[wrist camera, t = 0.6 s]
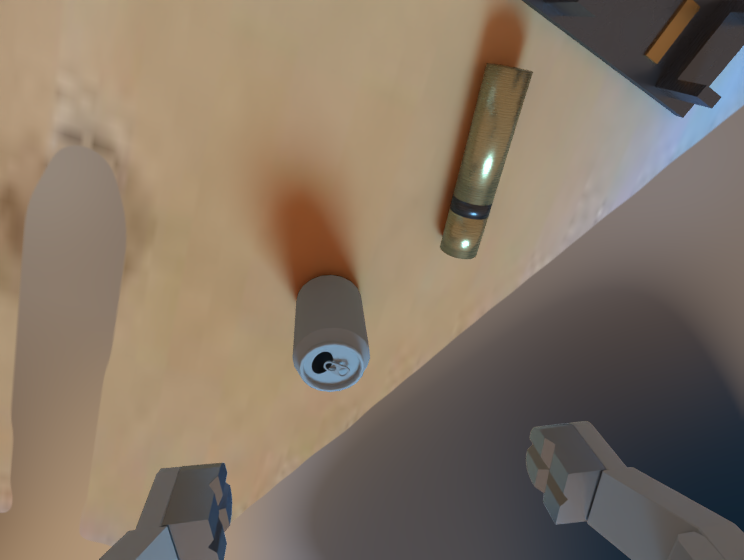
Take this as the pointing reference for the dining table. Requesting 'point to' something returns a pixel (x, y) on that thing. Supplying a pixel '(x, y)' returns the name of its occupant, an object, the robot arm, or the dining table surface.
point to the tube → (484, 157)
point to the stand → (656, 42)
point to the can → (330, 334)
